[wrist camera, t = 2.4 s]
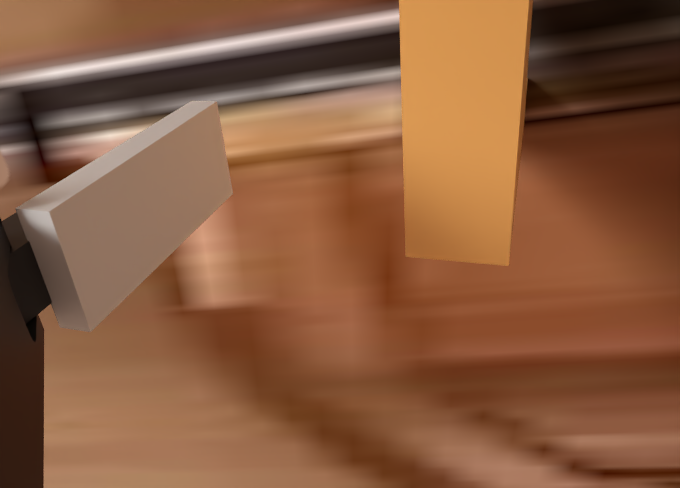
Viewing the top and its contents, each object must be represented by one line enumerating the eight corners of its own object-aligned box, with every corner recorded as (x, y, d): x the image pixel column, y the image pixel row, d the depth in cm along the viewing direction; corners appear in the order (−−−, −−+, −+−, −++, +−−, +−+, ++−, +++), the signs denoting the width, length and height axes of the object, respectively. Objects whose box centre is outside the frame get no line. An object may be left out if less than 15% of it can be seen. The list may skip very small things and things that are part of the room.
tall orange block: (460, -74, 24) (398, -34, 14) (540, -79, 23) (532, -40, 13) (456, 121, 28) (405, 256, 18) (524, 122, 27) (508, 265, 17)
